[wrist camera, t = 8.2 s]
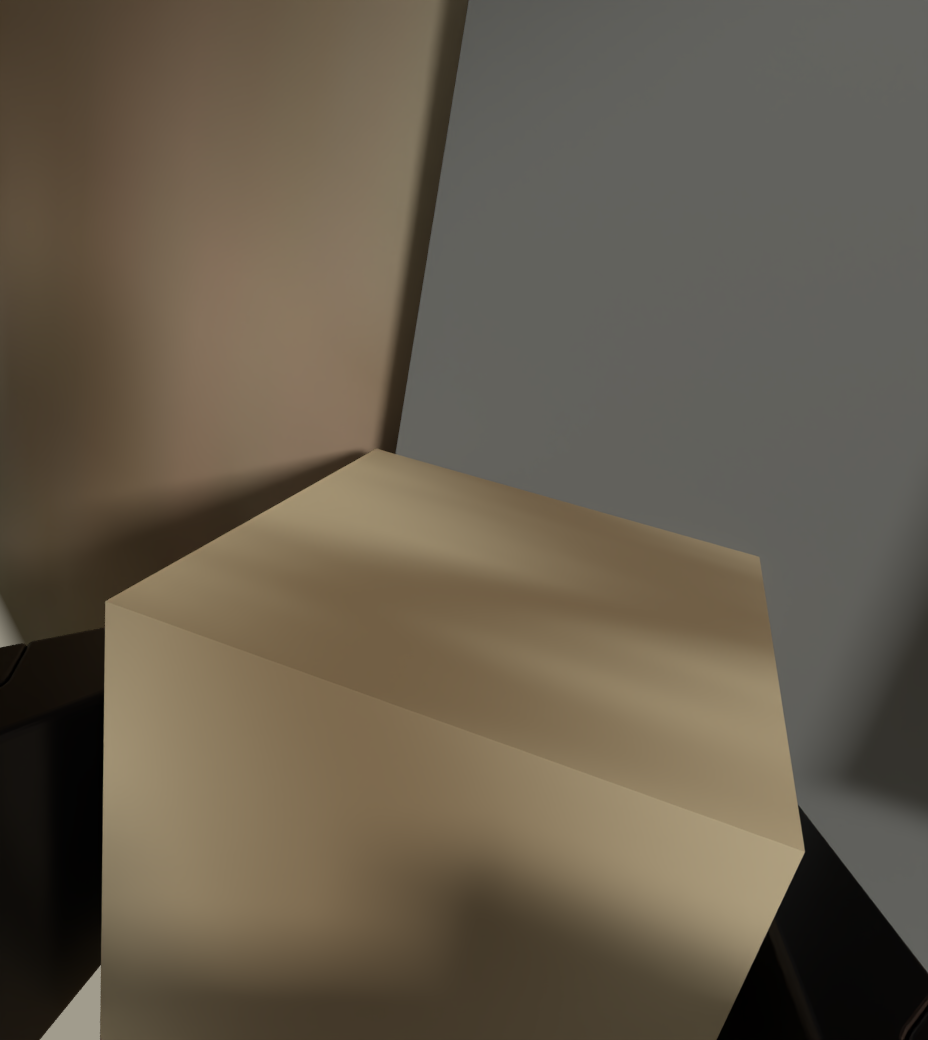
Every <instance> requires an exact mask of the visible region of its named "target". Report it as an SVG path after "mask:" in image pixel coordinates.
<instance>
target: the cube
mask: <svg viewBox="0 0 928 1040" xmlns="http://www.w3.org/2000/svg"><path fill="white" fill-rule="evenodd" d="M804 853H805V849H804V842H803V836H802V829H801V823H800V816H799V810H798V803H797V797H796V790H795V784H794V778H793V771H792V765H791V758H790V752H789V745H788V739H787V732H786V726H785V719H784V713H783V706H782V700H781V693H780V687H779V681H778V674H777V668H776V661H775V655H774V648H773V642H772V635H771V629H770V622H769V616H768V609H767V603H766V597H765V590H764V584H763V577H762V571H761V564H760V558H759V557H758V556H755V555H751V554H747V553H744V552H740V551H737V550H733V549H730V548H726V547H723V546H719V545H716V544H712V543H709V542H705V541H701V540H698V539H694V538H691V537H687V536H684V535H680V534H677V533H673V532H670V531H666V530H662V529H659V528H655V527H652V526H648V525H645V524H641V523H638V522H634V521H631V520H627V519H624V518H620V517H616V516H613V515H609V514H606V513H602V512H599V511H595V510H592V509H588V508H585V507H581V506H577V505H574V504H570V503H567V502H563V501H560V500H556V499H553V498H549V497H546V496H542V495H539V494H535V493H531V492H528V491H524V490H521V489H517V488H514V487H510V486H507V485H503V484H500V483H496V482H492V481H489V480H485V479H482V478H478V477H475V476H471V475H468V474H464V473H461V472H457V471H454V470H450V469H446V468H443V467H439V466H436V465H432V464H429V463H425V462H422V461H418V460H415V459H411V458H407V457H404V456H400V455H397V454H393V453H390V452H386V451H383V450H379V449H375V450H373V451H371V452H370V453H368V454H366V455H364V456H362V457H361V458H359V459H357V460H355V461H354V462H352V463H350V464H348V465H346V466H345V467H343V468H341V469H339V470H338V471H336V472H334V473H332V474H330V475H329V476H327V477H325V478H323V479H322V480H320V481H318V482H316V483H314V484H313V485H311V486H309V487H307V488H306V489H304V490H302V491H300V492H298V493H297V494H295V495H293V496H291V497H290V498H288V499H286V500H284V501H283V502H281V503H279V504H277V505H275V506H274V507H272V508H270V509H268V510H267V511H265V512H263V513H261V514H259V515H258V516H256V517H254V518H252V519H251V520H249V521H247V522H245V523H243V524H242V525H240V526H238V527H236V528H235V529H233V530H231V531H229V532H227V533H226V534H224V535H222V536H220V537H219V538H217V539H215V540H213V541H211V542H210V543H208V544H206V545H204V546H203V547H201V548H199V549H197V550H195V551H194V552H192V553H190V554H188V555H187V556H185V557H183V558H181V559H179V560H178V561H176V562H174V563H172V564H171V565H169V566H167V567H165V568H163V569H162V570H160V571H158V572H156V573H155V574H153V575H151V576H149V577H147V578H146V579H144V580H142V581H140V582H139V583H137V584H135V585H133V586H132V587H130V588H128V589H126V590H124V591H123V592H121V593H119V594H117V595H116V596H114V597H112V598H110V599H108V600H107V601H105V675H104V760H103V845H102V930H101V1016H100V1040H717V1038H718V1036H719V1033H720V1031H721V1029H722V1027H723V1025H724V1023H725V1021H726V1019H727V1016H728V1014H729V1012H730V1010H731V1008H732V1006H733V1004H734V1002H735V999H736V997H737V995H738V993H739V991H740V989H741V987H742V985H743V982H744V980H745V978H746V976H747V974H748V972H749V970H750V968H751V965H752V963H753V961H754V959H755V957H756V955H757V953H758V951H759V948H760V946H761V944H762V942H763V940H764V938H765V936H766V934H767V931H768V929H769V927H770V925H771V923H772V921H773V919H774V917H775V915H776V912H777V910H778V908H779V906H780V904H781V902H782V900H783V898H784V895H785V893H786V891H787V889H788V887H789V885H790V883H791V881H792V878H793V876H794V874H795V872H796V870H797V868H798V866H799V864H800V861H801V859H802V857H803V855H804Z"/></svg>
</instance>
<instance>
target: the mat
mask: <svg viewBox="0 0 928 1040" xmlns="http://www.w3.org/2000/svg"><path fill="white" fill-rule="evenodd" d="M396 454H397V455H400V456H404V457H407V458H411V459H415V460H418V461H422V462H425V463H429V464H432V465H436V466H439V467H443V468H446V469H450V470H454V471H457V472H461V473H464V474H468V475H471V476H475V477H478V478H482V479H485V480H489V481H492V482H496V483H500V484H503V485H507V486H510V487H514V488H517V489H521V490H524V491H528V492H531V493H535V494H539V495H542V496H546V497H549V498H553V499H556V500H560V501H563V502H567V503H570V504H574V505H577V506H581V507H585V508H588V509H592V510H595V511H599V512H602V513H606V514H609V515H613V516H616V517H620V518H624V519H627V520H631V521H634V522H638V523H641V524H645V525H648V526H652V527H655V528H659V529H662V530H666V531H670V532H673V533H677V534H680V535H684V536H687V537H691V538H694V539H698V540H701V541H705V542H709V543H712V544H716V545H719V546H723V547H726V548H730V549H733V550H737V551H740V552H744V553H747V554H751V555H755V556H758V557H759V558H760V564H761V571H762V577H763V584H764V590H765V597H766V603H767V609H768V616H769V622H770V629H771V635H772V642H773V648H774V655H775V661H776V668H777V674H778V681H779V687H780V693H781V700H782V706H783V713H784V719H785V726H786V732H787V739H788V745H789V752H790V758H791V765H792V771H793V778H794V784H795V790H796V797H797V803H798V805H799V806H800V807H801V809H802V810H803V811H804V813H805V814H806V815H807V816H808V818H809V819H810V820H811V822H812V823H813V824H814V826H815V827H816V828H817V829H818V831H819V832H820V833H821V835H822V836H823V837H824V838H825V840H826V841H827V842H828V844H829V845H830V846H831V848H832V849H833V850H834V851H835V853H836V854H837V855H838V857H839V858H840V859H841V861H842V862H843V863H844V864H845V866H846V867H847V868H848V870H849V871H850V872H851V874H852V875H853V876H854V877H855V879H856V880H857V881H858V883H859V884H860V885H861V886H862V888H863V889H864V890H865V892H866V893H867V894H868V896H869V897H870V898H871V899H872V901H873V902H874V903H875V905H876V906H877V907H878V909H879V910H880V911H881V912H882V914H883V915H884V916H885V918H886V919H887V920H888V922H889V923H890V924H891V925H892V927H893V928H894V929H895V931H896V932H897V933H898V934H899V936H900V937H901V938H902V940H903V941H904V942H905V944H906V945H907V946H908V947H909V949H910V950H911V951H912V953H913V954H914V955H915V957H916V958H917V959H918V960H919V962H920V963H921V964H922V966H923V967H924V968H925V970H926V971H927V972H928V0H469V2H468V8H467V14H466V21H465V27H464V33H463V39H462V45H461V52H460V58H459V64H458V70H457V76H456V82H455V89H454V95H453V101H452V107H451V113H450V120H449V126H448V132H447V138H446V144H445V151H444V157H443V163H442V169H441V175H440V181H439V188H438V194H437V200H436V206H435V212H434V219H433V225H432V231H431V237H430V243H429V250H428V256H427V262H426V268H425V274H424V281H423V287H422V293H421V299H420V305H419V311H418V318H417V324H416V330H415V336H414V342H413V349H412V355H411V361H410V367H409V373H408V380H407V386H406V392H405V398H404V404H403V410H402V417H401V423H400V429H399V435H398V441H397V448H396Z"/></svg>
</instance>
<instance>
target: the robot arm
mask: <svg viewBox="0 0 928 1040" xmlns="http://www.w3.org/2000/svg"><path fill="white" fill-rule="evenodd" d="M104 675H105V628H100V629H95V630H89V631H84V632H79V633H74V634H69V635H64V636H58V637H53V638H48V639H43V640H38V641H33V642H30V643H29V645H28V646H26V645H25V644H23V643H21V644H16V645H11V646H6V647H1V648H0V1040H40V1039H41V1038H42V1036H43V1035H44V1034H45V1033H46V1031H47V1030H48V1029H49V1028H50V1026H51V1025H52V1024H53V1023H54V1022H55V1020H56V1019H57V1018H58V1017H59V1015H60V1014H61V1013H62V1012H63V1010H64V1009H65V1008H66V1007H67V1006H68V1004H69V1003H70V1002H71V1001H72V1000H73V998H74V997H75V996H76V995H77V993H78V992H79V991H80V990H81V989H82V987H83V986H84V985H85V983H86V982H87V981H88V980H89V979H90V977H91V976H92V975H93V974H94V972H95V971H96V970H97V969H98V968H99V966H100V965H101V930H102V845H103V760H104ZM798 810H799V816H800V823H801V829H802V836H803V842H804V849H805V853H804V855H803V857H802V859H801V861H800V864H799V866H798V868H797V870H796V872H795V874H794V876H793V878H792V881H791V883H790V885H789V887H788V889H787V891H786V893H785V895H784V898H783V900H782V902H781V904H780V906H779V908H778V910H777V912H776V915H775V917H774V919H773V921H772V923H771V925H770V927H769V929H768V931H767V934H766V936H765V938H764V940H763V942H762V944H761V946H760V948H759V951H758V953H757V955H756V957H755V959H754V961H753V963H752V965H751V968H750V970H749V972H748V974H747V976H746V978H745V980H744V982H743V985H742V987H741V989H740V991H739V993H738V995H737V997H736V999H735V1002H734V1004H733V1006H732V1008H731V1010H730V1012H729V1014H728V1016H727V1019H726V1021H725V1023H724V1025H723V1027H722V1029H721V1031H720V1033H719V1036H718V1038H717V1040H928V972H927V971H926V970H925V968H924V967H923V966H922V964H921V963H920V962H919V960H918V959H917V958H916V957H915V955H914V954H913V953H912V951H911V950H910V949H909V947H908V946H907V945H906V944H905V942H904V941H903V940H902V938H901V937H900V936H899V934H898V933H897V932H896V931H895V929H894V928H893V927H892V925H891V924H890V923H889V922H888V920H887V919H886V918H885V916H884V915H883V914H882V912H881V911H880V910H879V909H878V907H877V906H876V905H875V903H874V902H873V901H872V899H871V898H870V897H869V896H868V894H867V893H866V892H865V890H864V889H863V888H862V886H861V885H860V884H859V883H858V881H857V880H856V879H855V877H854V876H853V875H852V874H851V872H850V871H849V870H848V868H847V867H846V866H845V864H844V863H843V862H842V861H841V859H840V858H839V857H838V855H837V854H836V853H835V851H834V850H833V849H832V848H831V846H830V845H829V844H828V842H827V841H826V840H825V838H824V837H823V836H822V835H821V833H820V832H819V831H818V829H817V828H816V827H815V826H814V824H813V823H812V822H811V820H810V819H809V818H808V816H807V815H806V814H805V813H804V811H803V810H802V809H801V807H800V806H799V805H798Z"/></svg>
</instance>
